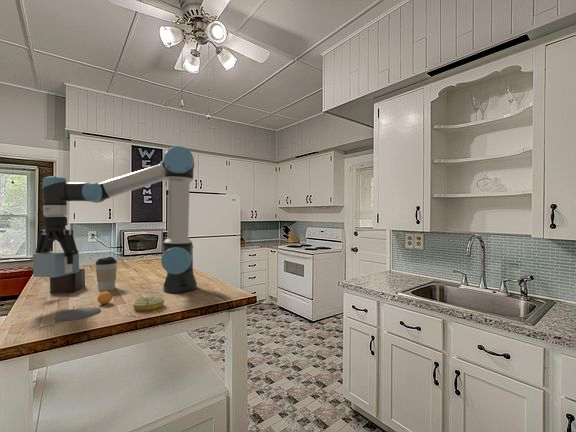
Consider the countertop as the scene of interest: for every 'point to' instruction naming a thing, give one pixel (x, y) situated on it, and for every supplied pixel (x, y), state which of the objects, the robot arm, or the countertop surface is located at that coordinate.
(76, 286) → the brown coffee grinder
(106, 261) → the coffee cup
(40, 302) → the countertop surface
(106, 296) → the ball
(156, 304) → the decorated donut
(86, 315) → the disc
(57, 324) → the countertop surface
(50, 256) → the grey rectangular block
